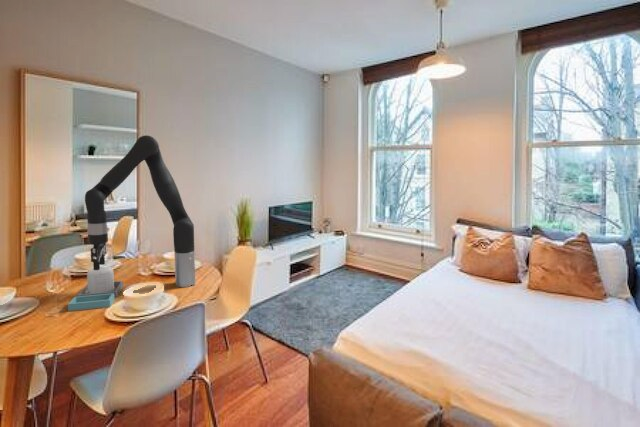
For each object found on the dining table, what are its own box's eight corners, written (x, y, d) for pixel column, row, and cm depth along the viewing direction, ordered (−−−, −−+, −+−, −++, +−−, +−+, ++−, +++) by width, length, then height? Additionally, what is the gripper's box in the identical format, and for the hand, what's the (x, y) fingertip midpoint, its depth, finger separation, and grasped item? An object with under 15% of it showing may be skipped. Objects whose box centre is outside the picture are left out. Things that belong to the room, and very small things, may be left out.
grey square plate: (123, 285, 162) (123, 280, 161) (116, 297, 148) (115, 292, 148) (87, 288, 157) (87, 283, 156) (77, 300, 143) (76, 295, 143)
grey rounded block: (114, 289, 157) (113, 264, 155) (114, 292, 153) (113, 266, 152) (88, 293, 151) (86, 267, 149) (88, 296, 148) (86, 270, 146)
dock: (114, 299, 145) (114, 293, 145) (110, 306, 138) (109, 300, 138) (75, 303, 140) (74, 296, 140) (68, 311, 133) (68, 304, 133)
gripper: (103, 235, 143) (104, 271, 145) (111, 229, 156) (112, 262, 158) (82, 236, 140) (84, 272, 143) (92, 229, 153) (94, 263, 156)
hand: (99, 267), depth 150 cm, fingers open, 8 cm apart
